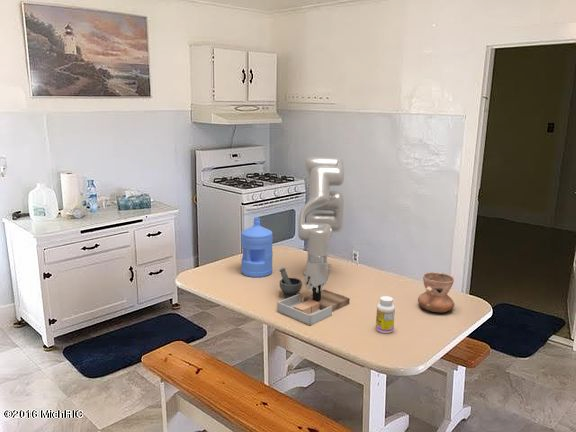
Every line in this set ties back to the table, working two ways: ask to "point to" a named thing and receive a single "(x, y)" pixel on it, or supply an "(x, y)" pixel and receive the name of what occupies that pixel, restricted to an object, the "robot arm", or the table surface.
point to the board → (330, 300)
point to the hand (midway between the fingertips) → (316, 300)
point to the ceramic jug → (436, 292)
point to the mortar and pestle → (289, 284)
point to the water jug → (256, 250)
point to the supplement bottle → (385, 315)
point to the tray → (309, 319)
